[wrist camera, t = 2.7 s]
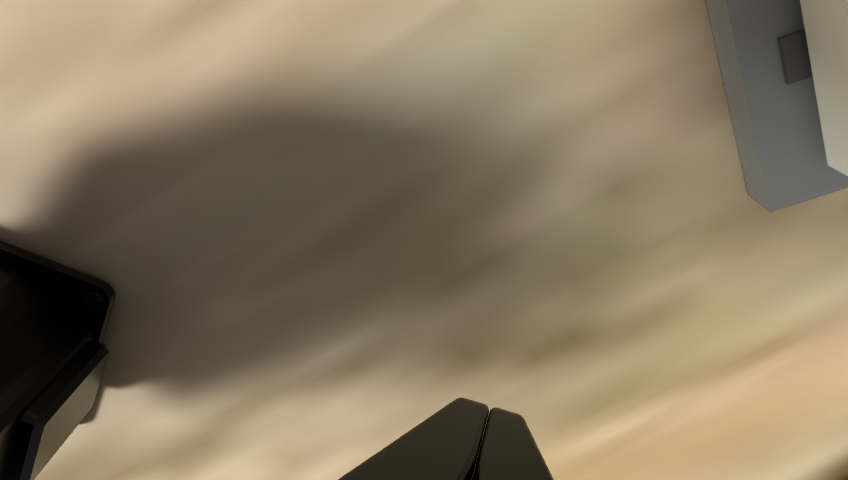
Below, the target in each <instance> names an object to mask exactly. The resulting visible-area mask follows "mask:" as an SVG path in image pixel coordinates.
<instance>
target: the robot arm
mask: <svg viewBox="0 0 848 480" xmlns="http://www.w3.org/2000/svg"><path fill="white" fill-rule="evenodd" d="M92 292H96V293H97V294H99V295H100V297H101V298H102V300H98V299H96V298H95V297H94V296H93V295H92ZM114 300H115V293H114V290H113V288H112V287H111V286H110V285H109V284H108V283H106V282H105V281H103V280H100V279H98V278H95V277H92V276H90V275H87V274H85V273H82V272H80V271H77V270H74V269H72V268H69V267H67V266H64V265H61V264H59V263H56V262H54V261H51V260H49V259H46V258H43V257H41V256H38V255H36V254H33V253H30V252H28V251H25V250H23V249H20V248H18V247H15V246H12V245H10V244H7V243H5V242H2V241H0V480H34V479H35V478H36V477H37V475H38V474H39V473H40V472H41V470H42V469H43V468H44V467H45V465H46V464H47V463H48V462H49V460H50V459H51V458H52V457H53V455H54V454H55V453H56V452H57V450H58V449H59V448H60V447H61V445H62V444H63V443H64V442H65V440H66V439H67V438H68V437H69V435H70V434H71V433H72V432H73V431H74V429H75V428H76V427H77V425H78V424H79V423H80V422H81V420H82V419H83V418H84V416H85V415H86V414H87V413H88V411H89V410H90V409H91V408H92V406H93V404H94V400H95V397H96V393H97V390H98V387H99V383H100V380H101V377H102V373H103V370H104V367H105V363H106V360H107V357H108V353H109V352H108V350H107V347H106V345H105V344H103V343H102V341H103V337H104V334H105V331H106V327H107V324H108V320H109V317H110V314H111V310H112V307H113V303H114ZM488 413H489V415H488ZM487 417H488V419H487ZM486 421H487V423H486ZM485 425H486V427H485ZM484 429H485V431H484ZM483 433H484V434H483ZM482 437H483V438H482ZM481 441H482V442H481ZM480 445H481V446H480ZM479 449H480V450H479ZM478 453H479V454H478ZM475 464H476V465H475ZM474 468H475V469H474ZM473 472H474V473H473ZM472 476H473V477H472ZM338 480H553V477H552V475H551V473H550V471H549V469H548V467H547V465H546V463H545V461H544V459H543V457H542V455H541V453H540V451H539V449H538V447H537V445H536V443H535V440H534V438H533V436H532V434H531V432H530V430H529V428H528V426H527V424H526V422H525V420H524V418H523V417H522V416H521V415H519V414H516V413H513V412H509V411H506V410H503V409H499V408H492V409H491V410H490V412H489V408H488V407H487V405H485V404H482V403H479V402H475V401H472V400H468V399H465V398H458V399H456V400H454V401H453V402H451V403H450V404H448V405H447V406H445V407H444V408H442V409H441V410H439V411H438V412H437V413H435V414H434V415H432V416H431V417H429V418H428V419H426V420H425V421H423V422H422V423H420V424H419V425H417V426H416V427H415V428H413V429H412V430H410V431H409V432H407V433H406V434H404V435H403V436H401V437H400V438H398V439H397V440H395V441H394V442H393V443H391V444H390V445H388V446H387V447H385V448H384V449H382V450H381V451H379V452H378V453H376V454H375V455H373V456H372V457H370V458H369V459H368V460H366V461H365V462H363V463H362V464H360V465H359V466H357V467H356V468H354V469H353V470H351V471H350V472H348V473H347V474H346V475H344V476H343V477H341V478H340V479H338Z"/></svg>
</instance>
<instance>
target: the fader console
mask: <svg viewBox="0 0 848 480" xmlns="http://www.w3.org/2000/svg"><path fill="white" fill-rule="evenodd" d="M705 1H706V5H707V10H708V14H709V19H710V24H711V28H712V33H713V37H714V42H715V46H716V51H717V56H718V60H719V65H720V69H721V74H722V79H723V83H724V88H725V92H726V97H727V101H728V106H729V111H730V115H731V120H732V124H733V129H734V134H735V138H736V143H737V147H738V152H739V156H740V161H741V166H742V170H743V175H744V179H745V184H746V189H747V193H748V195H749V196H750V197H751V198H753V199H754V200H755V201H756V202H758V203H759V204H760V205H761V206H763V207H764V208H765V209H767V210H768V211H769V212H772V211H776V210H779V209H782V208H785V207H788V206H791V205H794V204H797V203H800V202H803V201H807V200H810V199H813V198H816V197H819V196H822V195H825V194H828V193H831V192H834V191H838V190H841V189H844V188H847V187H848V176H846V175H845V174H843V173H841V172H839V171H837V170H835V169H834V168H832V167H830V166H828V163H827V158H826V152H825V146H824V140H823V134H822V128H821V122H820V116H819V110H818V104H817V98H816V92H815V87H814V81H813V75H812V69H811V63H810V57H809V51H808V45H807V39H806V33H805V27H804V22H803V16H802V10H801V4H800V0H705Z"/></svg>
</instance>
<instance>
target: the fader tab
mask: <svg viewBox="0 0 848 480" xmlns="http://www.w3.org/2000/svg"><path fill="white" fill-rule="evenodd" d="M800 4H801V10H802V16H803V22H804V27H805V33H806V39H807V45H808V51H809V57H810V63H811V69H812V75H813V81H814V87H815V92H816V98H817V104H818V110H819V116H820V122H821V128H822V134H823V140H824V146H825V152H826V158H827V163H828V166H830V167H832V168H834V169H835V170H837V171H839V172H841V173H843V174H845V175H846V176H848V0H800Z"/></svg>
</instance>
